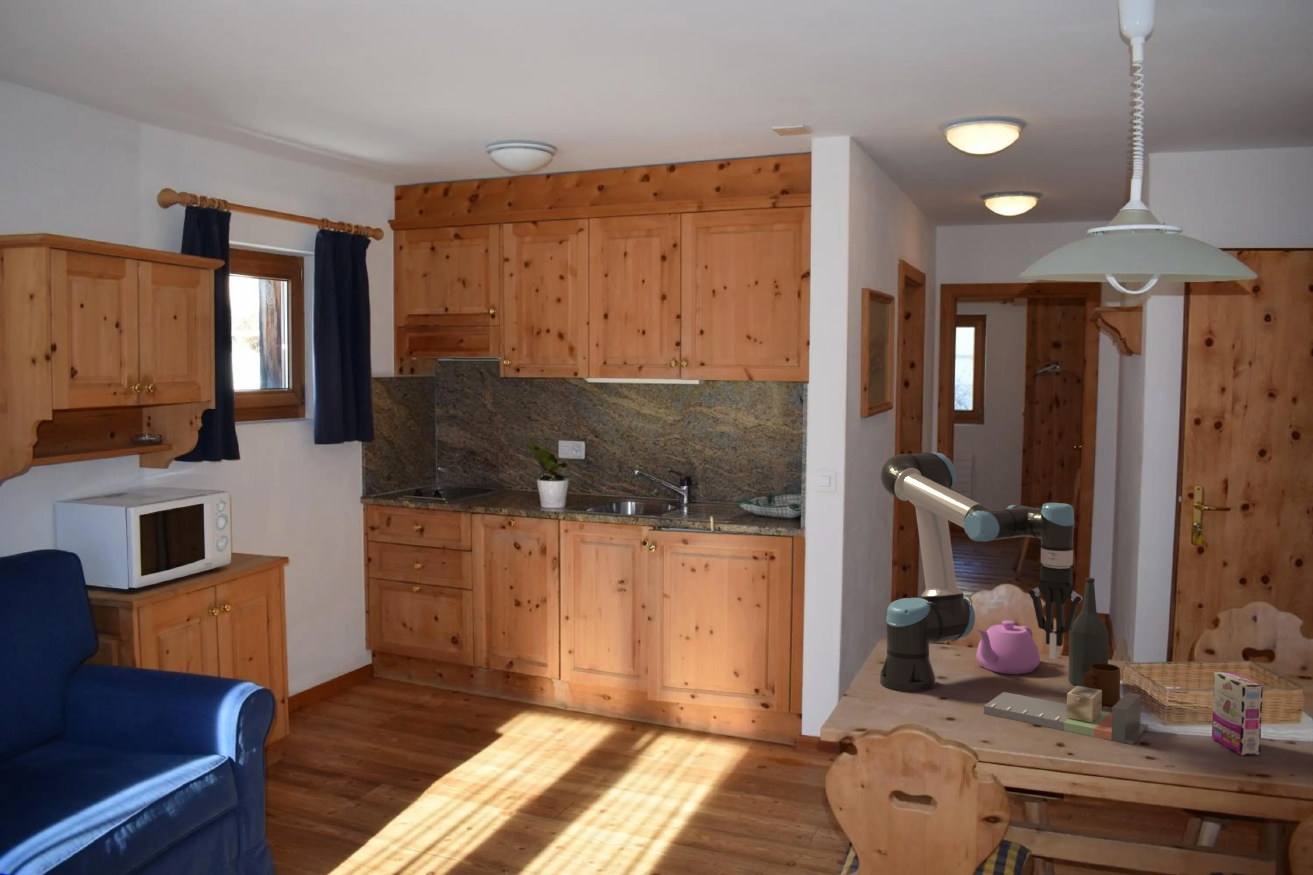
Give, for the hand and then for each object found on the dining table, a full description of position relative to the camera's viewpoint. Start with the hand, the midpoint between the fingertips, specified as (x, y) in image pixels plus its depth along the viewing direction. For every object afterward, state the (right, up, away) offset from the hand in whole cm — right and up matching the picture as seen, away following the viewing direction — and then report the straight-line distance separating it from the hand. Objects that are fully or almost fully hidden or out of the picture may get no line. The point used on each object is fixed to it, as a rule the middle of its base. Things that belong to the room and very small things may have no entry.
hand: (1053, 657), depth 258 cm
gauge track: (0, -16, +1) cm, 16 cm away
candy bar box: (+35, -17, -19) cm, 43 cm away
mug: (+16, -15, +12) cm, 25 cm away
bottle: (+20, -14, +28) cm, 37 cm away
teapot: (+3, -13, +45) cm, 46 cm away
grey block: (+14, -16, -10) cm, 23 cm away
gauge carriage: (+5, -14, -5) cm, 15 cm away
